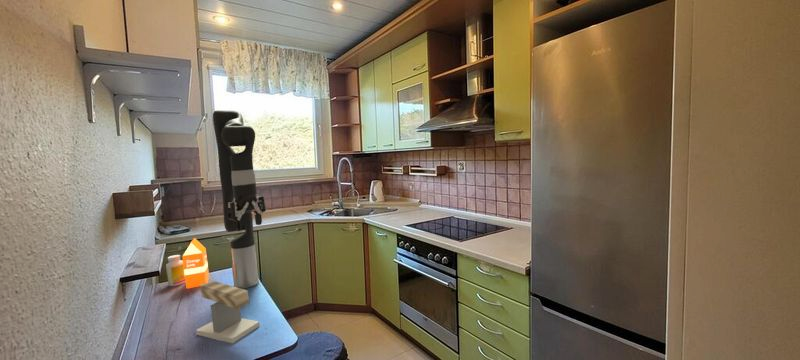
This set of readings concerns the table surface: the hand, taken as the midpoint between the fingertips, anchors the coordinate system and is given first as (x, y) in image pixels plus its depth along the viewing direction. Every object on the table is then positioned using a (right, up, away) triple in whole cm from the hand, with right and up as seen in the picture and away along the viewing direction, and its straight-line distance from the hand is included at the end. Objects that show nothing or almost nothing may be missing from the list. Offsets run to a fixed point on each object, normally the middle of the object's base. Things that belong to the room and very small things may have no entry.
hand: (249, 227), depth 117 cm
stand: (-1, -31, -13) cm, 33 cm away
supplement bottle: (-47, -30, +32) cm, 65 cm away
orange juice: (-37, -30, +30) cm, 56 cm away
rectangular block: (-1, -21, -14) cm, 25 cm away
